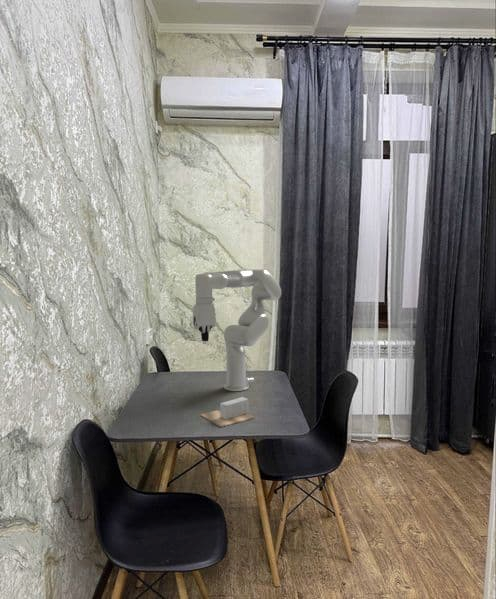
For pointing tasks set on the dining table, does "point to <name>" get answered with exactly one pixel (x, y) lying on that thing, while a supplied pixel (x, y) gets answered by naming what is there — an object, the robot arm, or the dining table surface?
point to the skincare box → (234, 408)
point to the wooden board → (222, 422)
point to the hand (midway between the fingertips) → (205, 340)
